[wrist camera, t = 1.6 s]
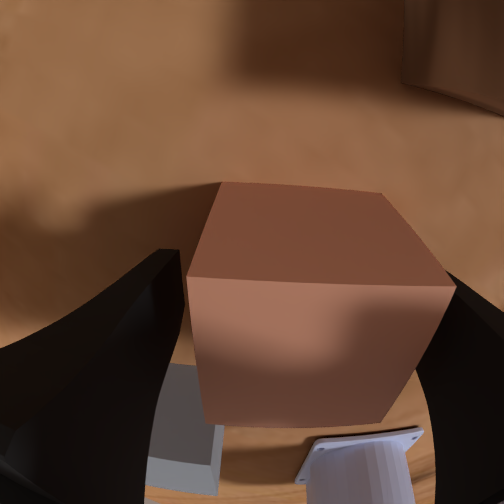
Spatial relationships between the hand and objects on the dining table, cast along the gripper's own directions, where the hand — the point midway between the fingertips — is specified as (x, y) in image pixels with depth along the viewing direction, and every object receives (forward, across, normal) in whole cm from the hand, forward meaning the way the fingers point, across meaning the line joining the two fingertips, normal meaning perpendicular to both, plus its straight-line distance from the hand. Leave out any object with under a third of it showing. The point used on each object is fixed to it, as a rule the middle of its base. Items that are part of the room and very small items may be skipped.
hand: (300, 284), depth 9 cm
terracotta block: (+2, 0, 0) cm, 2 cm away
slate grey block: (+2, +5, +9) cm, 10 cm away
